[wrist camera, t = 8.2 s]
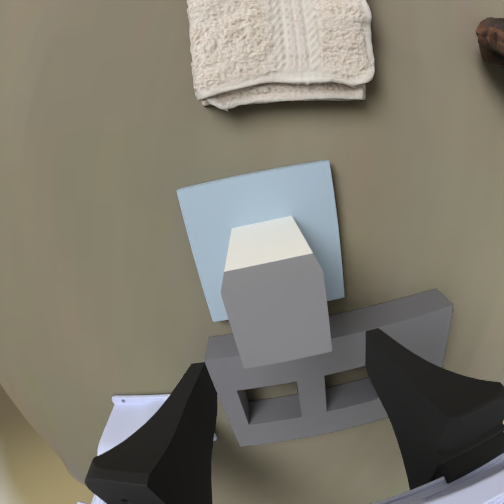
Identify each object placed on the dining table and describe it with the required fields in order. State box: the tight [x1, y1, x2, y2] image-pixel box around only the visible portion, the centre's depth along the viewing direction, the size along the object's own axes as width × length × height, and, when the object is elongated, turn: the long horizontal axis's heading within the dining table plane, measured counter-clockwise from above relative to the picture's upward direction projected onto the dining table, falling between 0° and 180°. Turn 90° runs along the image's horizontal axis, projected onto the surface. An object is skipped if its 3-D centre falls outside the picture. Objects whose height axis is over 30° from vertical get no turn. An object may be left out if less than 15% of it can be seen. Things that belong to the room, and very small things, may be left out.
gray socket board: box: [205, 289, 453, 447], centre depth 24 cm, size 20×12×3 cm, turn 101°
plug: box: [221, 216, 332, 369], centre depth 17 cm, size 4×4×9 cm
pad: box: [177, 160, 344, 322], centre depth 21 cm, size 10×10×1 cm
